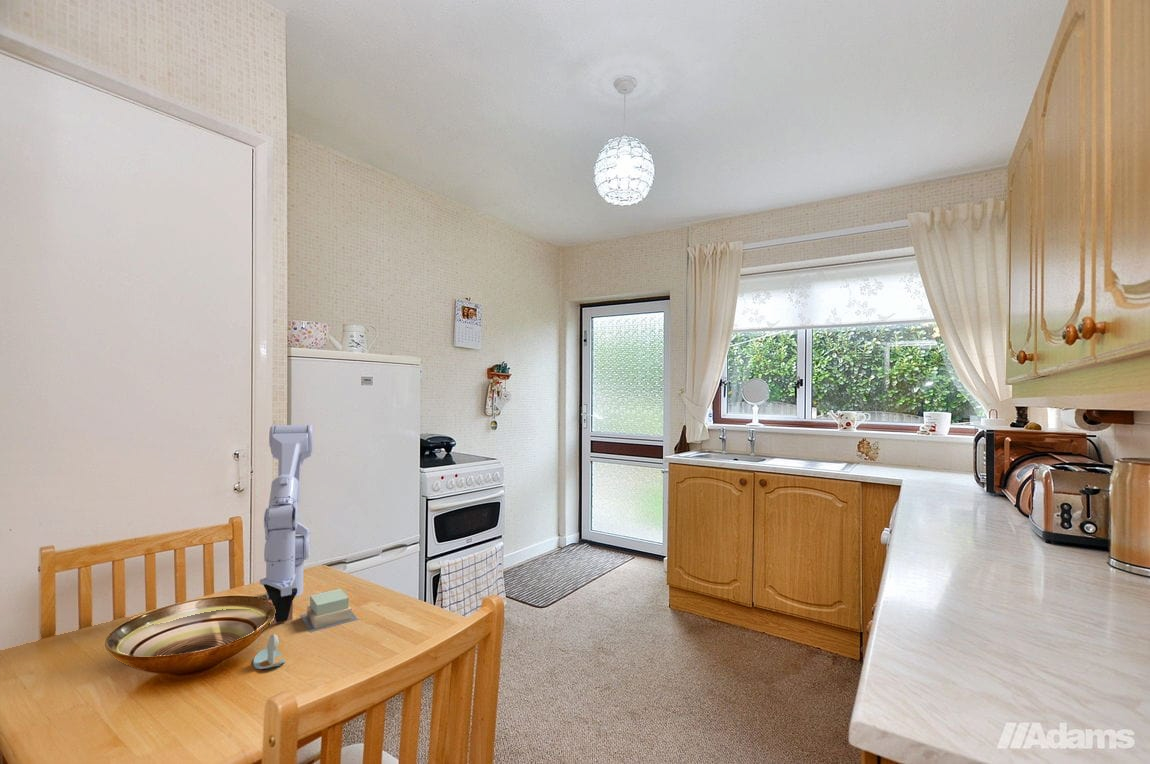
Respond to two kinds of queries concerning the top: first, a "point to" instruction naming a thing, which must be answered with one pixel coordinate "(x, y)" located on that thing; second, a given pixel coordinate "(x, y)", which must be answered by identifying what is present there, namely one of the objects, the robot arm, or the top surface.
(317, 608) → the sage slab
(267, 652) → the pacifier
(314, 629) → the slate board
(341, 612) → the oak slab
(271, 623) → the terracotta block
